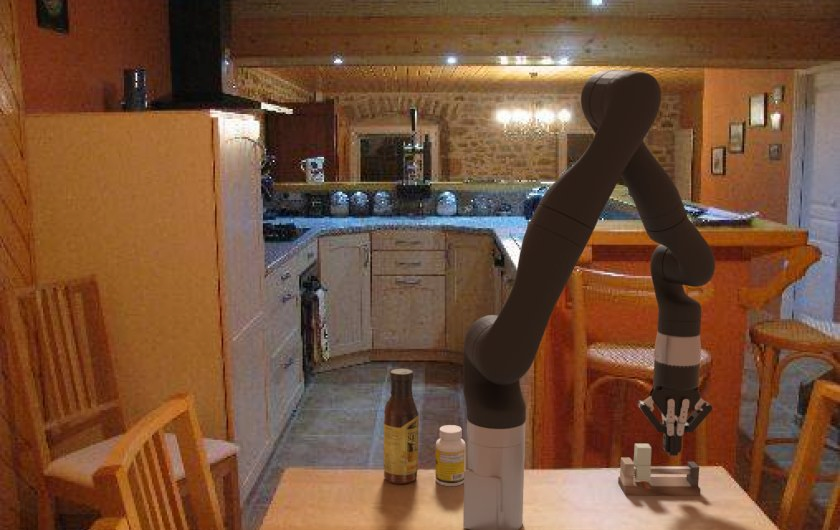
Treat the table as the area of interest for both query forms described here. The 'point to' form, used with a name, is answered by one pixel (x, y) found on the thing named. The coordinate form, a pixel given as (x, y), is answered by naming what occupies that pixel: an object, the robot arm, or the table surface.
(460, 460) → the supplement bottle
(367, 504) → the table surface
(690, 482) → the board
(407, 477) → the sauce bottle
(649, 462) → the white upright block
